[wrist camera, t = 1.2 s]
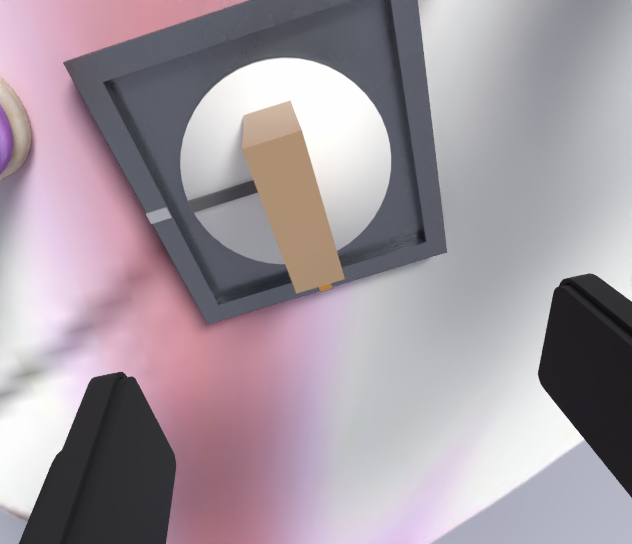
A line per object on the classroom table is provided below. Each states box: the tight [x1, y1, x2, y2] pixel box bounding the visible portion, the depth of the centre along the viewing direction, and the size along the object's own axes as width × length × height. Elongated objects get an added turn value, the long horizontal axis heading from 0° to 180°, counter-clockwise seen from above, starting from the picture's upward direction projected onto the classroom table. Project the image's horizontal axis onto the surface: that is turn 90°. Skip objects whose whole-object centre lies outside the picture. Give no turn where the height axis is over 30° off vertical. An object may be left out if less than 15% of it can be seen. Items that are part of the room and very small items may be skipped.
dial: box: [180, 57, 391, 294], centre depth 26 cm, size 14×14×8 cm
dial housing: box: [63, 0, 447, 324], centre depth 30 cm, size 20×20×2 cm
